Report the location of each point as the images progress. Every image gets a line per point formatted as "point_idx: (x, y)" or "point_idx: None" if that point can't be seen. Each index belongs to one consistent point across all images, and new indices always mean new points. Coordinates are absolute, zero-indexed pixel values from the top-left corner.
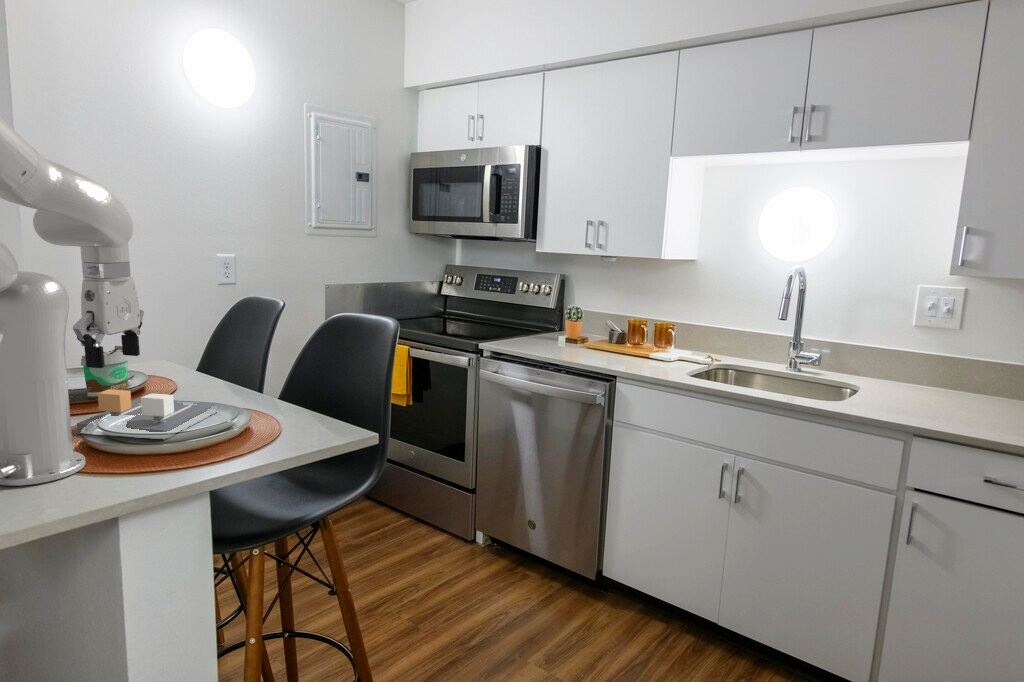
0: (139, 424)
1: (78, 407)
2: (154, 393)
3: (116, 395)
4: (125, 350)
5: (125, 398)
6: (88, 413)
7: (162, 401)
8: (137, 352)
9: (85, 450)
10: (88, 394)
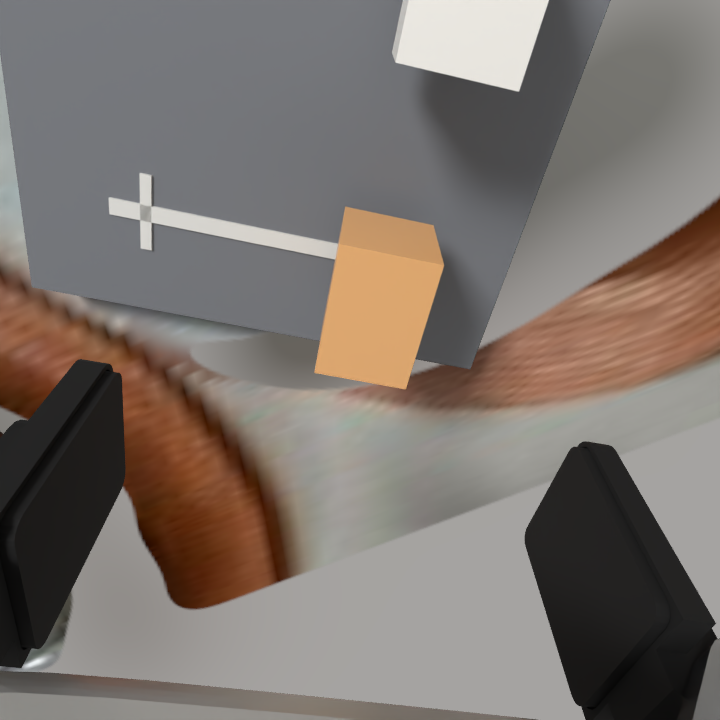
0: None
1: (143, 471)
2: (402, 31)
3: (435, 284)
4: (109, 490)
5: (392, 240)
6: (205, 415)
7: None
8: (96, 383)
9: (696, 223)
10: None
